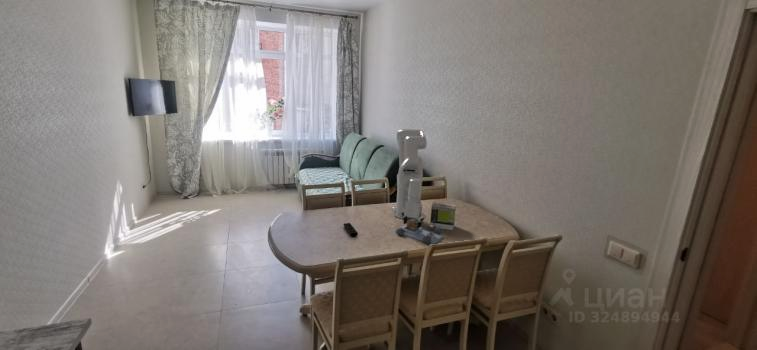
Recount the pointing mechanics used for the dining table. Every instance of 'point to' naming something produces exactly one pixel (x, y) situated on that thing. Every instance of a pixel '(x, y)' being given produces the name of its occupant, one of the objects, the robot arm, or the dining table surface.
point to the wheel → (431, 228)
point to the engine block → (412, 225)
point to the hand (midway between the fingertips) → (412, 225)
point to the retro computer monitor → (443, 215)
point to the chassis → (421, 234)
